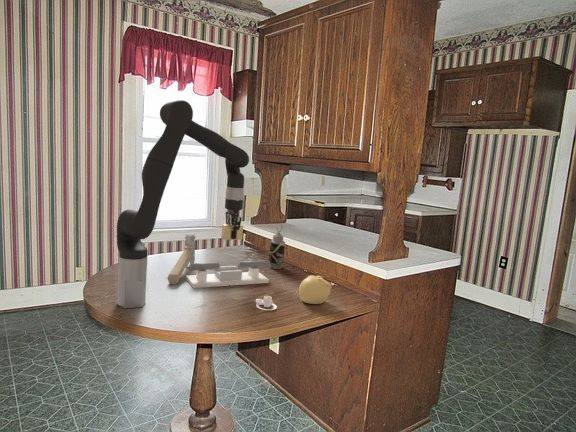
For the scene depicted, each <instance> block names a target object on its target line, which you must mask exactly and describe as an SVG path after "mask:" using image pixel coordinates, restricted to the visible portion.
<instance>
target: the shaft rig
mask: <svg viewBox="0 0 576 432" xmlns="http://www.w3.org/2000/svg"><path fill="white" fill-rule="evenodd" d="M189 264H190V263H189ZM237 267H238V269H237ZM265 267H266V260H250V261H249V260H247V261H245V260H242V261H238V263H237V265H226V266H225V265H224V266H223V265H222V266H221V265H220V263H219V262H218V261H217V262H199V263H197V262H194V263H192V264H190V267H189V271H191V272H193V271H194V272H195V271H196V273H195V274H191V275H190V274H189V275H187V274H186V275H185V280H186V281H187V282H188V283H189V285H190V286H191V287H192V288H193V289H199V288H212V287H227V286H228V287H229V285H230V286H242V285H256V284H269V282H270V279H269V278H268V277H266V276H265V275H264V274H263V273H261V272H260V268H265ZM243 269H248V271H245V272H243ZM213 270H214V273H208V271H213Z"/></svg>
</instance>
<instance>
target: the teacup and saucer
mask: <svg viewBox="0 0 576 432" xmlns="http://www.w3.org/2000/svg"><path fill="white" fill-rule="evenodd" d="M255 304H256V305H255V306H256V308H258V309H259V310H263V311H274V310H276V309H277V308H278V306H277V305H276V304H275V303H274V302H273V299H272V296H270V295H264V296H263V297H262V298H256V299H255ZM261 306H263V307H264V308H263V307H261ZM271 306H272V308H270V307H271ZM267 308H268V309H267Z"/></svg>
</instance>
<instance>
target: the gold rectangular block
mask: <svg viewBox="0 0 576 432" xmlns="http://www.w3.org/2000/svg"><path fill="white" fill-rule="evenodd" d="M233 226H234V225H233ZM231 227H232V226H231V224H226V223H222V224H221V239H222V240H224V241H234V240H235V241H236V240H237V241H239V240H240V241H241V240H243V236H244V235H243V234H244V225H242V223H241V224H240V229H239V230H237V237H236V239H231V231H232V228H231Z"/></svg>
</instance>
